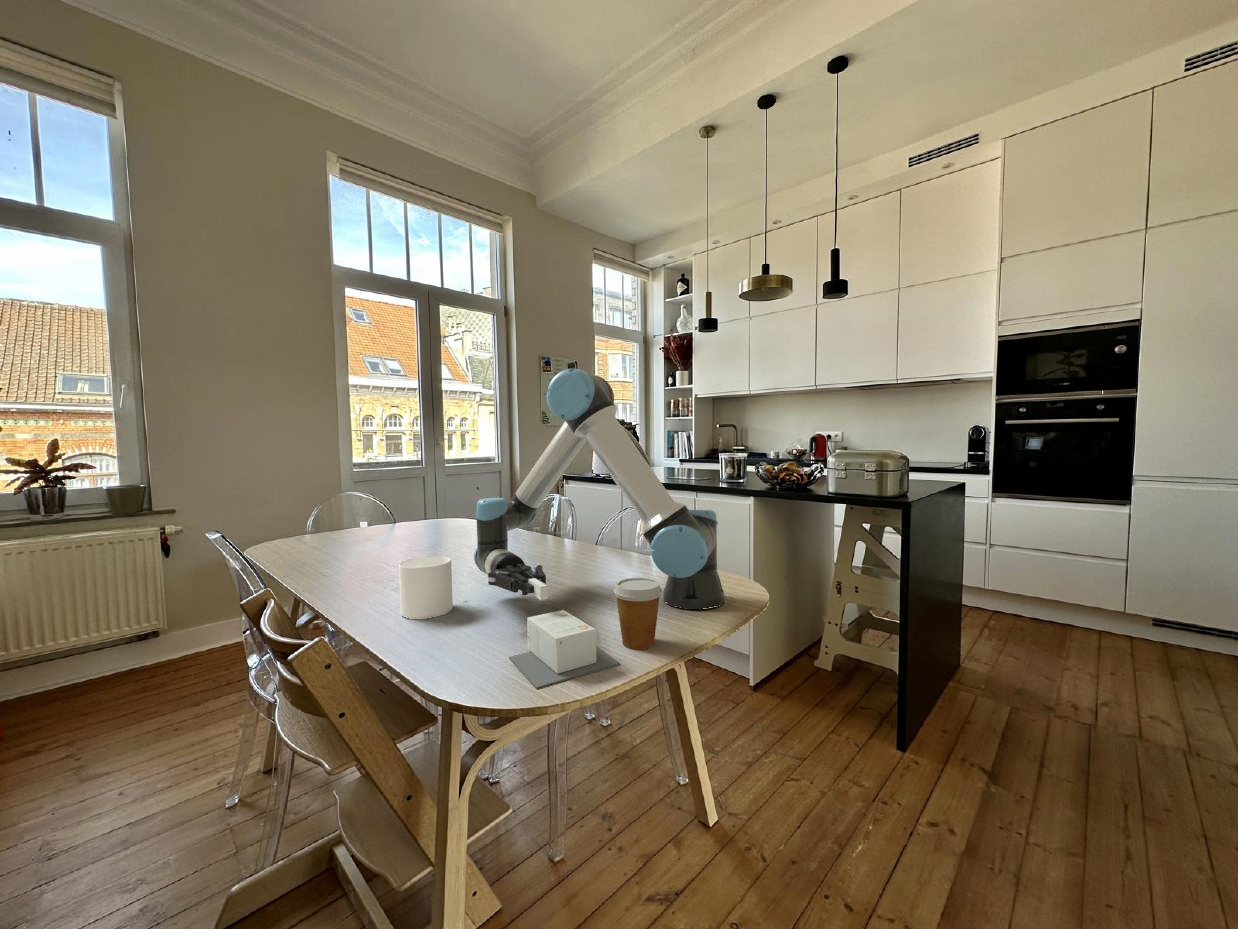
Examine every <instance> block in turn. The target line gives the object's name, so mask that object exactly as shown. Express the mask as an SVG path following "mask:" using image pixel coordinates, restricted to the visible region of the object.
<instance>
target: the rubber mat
mask: <svg viewBox="0 0 1238 929" xmlns="http://www.w3.org/2000/svg"><path fill="white" fill-rule="evenodd" d="M508 659H509V660H510V661H511V663H512V664H513V665H514V666H515V668H516V669H517V670H519V672H520V673H521V674H522V676H524V678H526V679H527V681H528V682H529V683H530V684H531V685H532V686H533V687H534V688H535V690H538V689H541V687H542V688H545V687H549V686H552V685H555V684H558V683H562V682H565V681H568V680H571V679H576V678H578V677H579V678H580V677H582V676H586V675H589V674H592V673H595V672H599V671H603V670H606V669H610V668H612V667H616V666H619V665H621V662H619V661H618V660H616V659H615V658H614V657H613V656H611V655H610V654H608V653H607V652H605V651H604V650H603V649H602V648H600V647H598V646H597V645H596V663H594V664H590V665H587V666H583V667H580V668H577V669H573V670H570V671H566V672H563V673H559V674H557V673H556V672H555V671H553V670H552V669H551V668H550V667H549V666H547V665H546V664H545V663H544V662H543V661H541V660H540V659H539V658H538V657H537V656H535V655H534V654H533V653H532V652H531V651H527V652H524V653H519V654H516V655H511V656H509V657H508ZM551 684H552V685H551ZM537 688H538V689H537Z"/></svg>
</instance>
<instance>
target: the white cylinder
mask: <svg viewBox="0 0 1238 929" xmlns="http://www.w3.org/2000/svg"><path fill="white" fill-rule="evenodd" d="M452 572H453V571H452V559H451V558H449V557H446V556H437V555H435V556H423V557H415V558H414V557H413V558H411V559H407V560H404V561H401V562H400V563H399V565H398V578H399V579H398V580H399V583H398V584H399V602H400V603H399V604H400V605H399V606H400V607H399V608H400V609H399V610H400V616H401V615H402V616H404V617H406V618H405V619H407V618H409V620H415V619H417V620H428V619H427V618H429V619H433V618H432V617H434V618H438V617H442V616H443V615H446V614H448V613H450V612H452V610H453V605H454V603H453V576H452ZM441 615H442V616H441ZM402 616H401V617H402ZM437 616H438V617H437ZM404 617H403V618H404Z"/></svg>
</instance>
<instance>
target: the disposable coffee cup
mask: <svg viewBox="0 0 1238 929" xmlns="http://www.w3.org/2000/svg"><path fill="white" fill-rule="evenodd" d="M662 591H663V590H662V587H661V585H660V582H659V581H658V580H655V579H652V578H649V577H648V578H646V577H628V578H624V579H620V580H618V581H617V582H616V583H615V587H614V588H613V593H614V595H615V597H616V604H617V605H616V606H617V612H618V620H619V626H620V633H621V639H622V640H621V641H622V645H623V646H624V647H625V648H627V649H630V650H646V648H647V649H650V648H651V647H653V646H654V645H655V639H656V630H657V621H658V612H659V603H660V596H661V594H662ZM649 647H650V648H649Z"/></svg>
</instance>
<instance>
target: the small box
mask: <svg viewBox="0 0 1238 929" xmlns="http://www.w3.org/2000/svg"><path fill="white" fill-rule="evenodd" d="M526 620H527V621H526V622H527V624H526V626H527V627H526V630H527V650H528V652H532V653H533V654H534V655H535V656H537V657H538V658H539V659H540V660H541V661H543V662H544V663H545V664H546V665H547V666H549V667H550V668H551V669H552V670H553V671H555V672H556V673H557V674H559V673H563V672H566V671H570V670H573V669H577V668H580V667H583V666H587V665H590V664H594V663H596V646H597V629H596V628H594V627H593V626H591V625H590V624H587V623H586V622H585V621H583V620H581V619H579V618H577V617H576V616H574V615H573V614H571V613H569V612H567V610H565V609H560V610H557V611H552V612H548V613H542V614H538V615H532V616H528V617H527V619H526Z"/></svg>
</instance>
